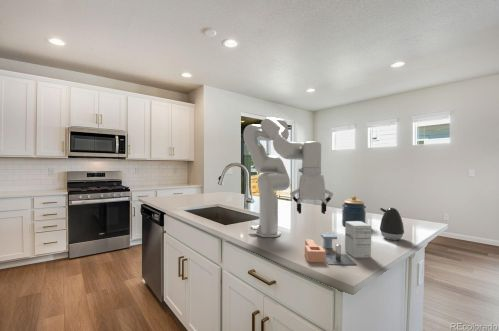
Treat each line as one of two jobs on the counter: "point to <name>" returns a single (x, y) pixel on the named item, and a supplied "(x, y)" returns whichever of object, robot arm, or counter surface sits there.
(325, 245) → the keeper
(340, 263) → the pintle station
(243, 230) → the counter surface
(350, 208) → the canister
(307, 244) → the link
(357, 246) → the supplement box
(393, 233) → the pump dispenser
